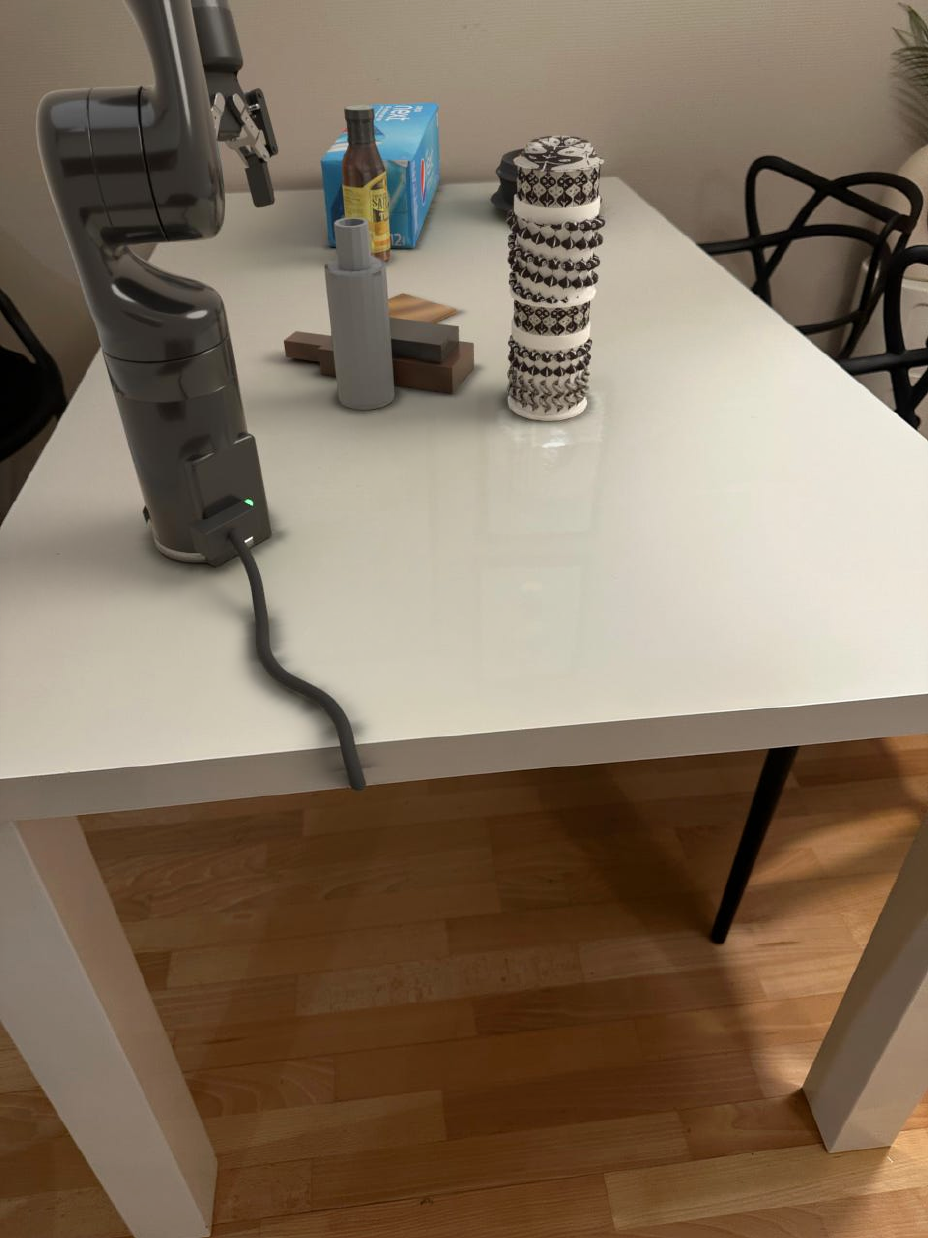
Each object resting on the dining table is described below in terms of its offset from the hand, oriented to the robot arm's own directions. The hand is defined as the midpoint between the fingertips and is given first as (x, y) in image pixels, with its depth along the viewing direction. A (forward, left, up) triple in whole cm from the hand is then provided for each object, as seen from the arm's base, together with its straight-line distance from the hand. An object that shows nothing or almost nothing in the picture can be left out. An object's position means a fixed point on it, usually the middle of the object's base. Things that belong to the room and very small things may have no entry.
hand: (239, 208), depth 87 cm
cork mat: (+2, -25, -18) cm, 31 cm away
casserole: (+16, -74, -19) cm, 78 cm away
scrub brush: (-6, -11, -18) cm, 22 cm away
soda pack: (+36, -58, -19) cm, 71 cm away
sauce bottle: (+21, -38, -19) cm, 47 cm away
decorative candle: (-27, -16, -19) cm, 36 cm away
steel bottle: (-11, -5, -18) cm, 22 cm away
